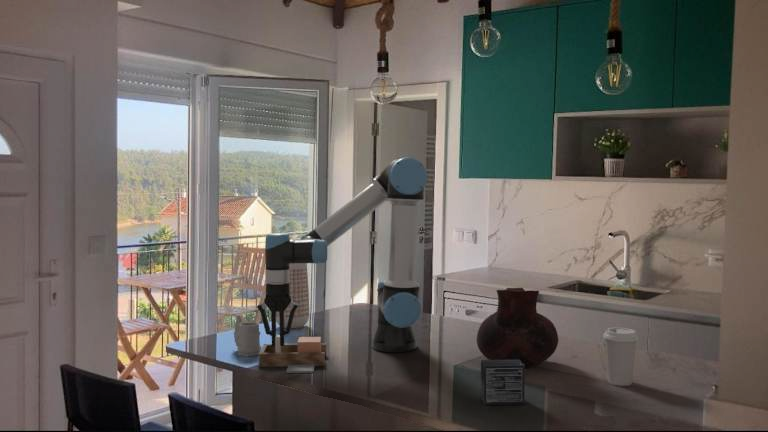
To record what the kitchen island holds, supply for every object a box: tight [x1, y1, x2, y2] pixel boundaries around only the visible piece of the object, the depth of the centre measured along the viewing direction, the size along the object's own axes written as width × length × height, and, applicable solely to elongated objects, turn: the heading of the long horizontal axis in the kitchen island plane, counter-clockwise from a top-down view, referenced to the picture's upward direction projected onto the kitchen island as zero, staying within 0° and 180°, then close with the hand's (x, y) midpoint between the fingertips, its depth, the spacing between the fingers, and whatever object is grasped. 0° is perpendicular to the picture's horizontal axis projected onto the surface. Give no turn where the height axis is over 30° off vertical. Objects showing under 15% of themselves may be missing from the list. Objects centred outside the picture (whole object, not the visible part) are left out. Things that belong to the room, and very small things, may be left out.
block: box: [296, 336, 322, 353], centre depth 221 cm, size 7×7×7 cm
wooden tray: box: [258, 343, 327, 368], centre depth 221 cm, size 20×12×4 cm, turn 92°
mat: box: [285, 364, 316, 374], centre depth 211 cm, size 8×7×1 cm
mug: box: [233, 314, 262, 357], centre depth 231 cm, size 8×12×12 cm, turn 47°
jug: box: [476, 287, 559, 369], centre depth 216 cm, size 25×25×25 cm
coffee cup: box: [602, 327, 639, 387], centre depth 198 cm, size 10×10×15 cm
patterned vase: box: [276, 263, 310, 330], centre depth 269 cm, size 13×13×28 cm
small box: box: [480, 359, 526, 406], centre depth 181 cm, size 11×6×10 cm, turn 92°
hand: (278, 356), depth 221 cm, fingers closed
